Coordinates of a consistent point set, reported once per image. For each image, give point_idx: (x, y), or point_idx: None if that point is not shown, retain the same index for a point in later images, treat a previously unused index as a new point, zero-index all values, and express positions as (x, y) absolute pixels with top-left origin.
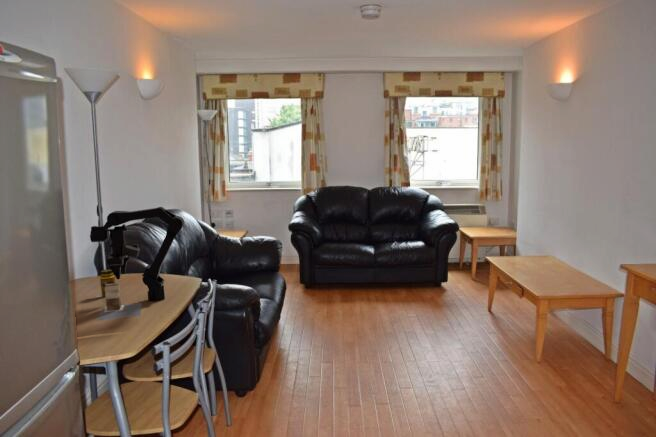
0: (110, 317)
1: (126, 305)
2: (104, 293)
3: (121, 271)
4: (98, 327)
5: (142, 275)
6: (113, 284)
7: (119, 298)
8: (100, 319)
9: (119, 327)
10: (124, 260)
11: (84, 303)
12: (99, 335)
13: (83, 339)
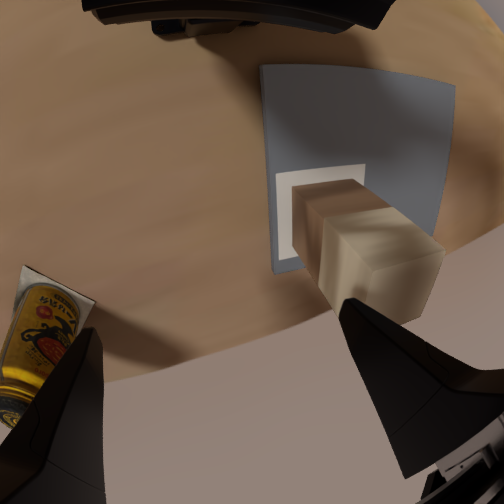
0: (429, 197)
1: (290, 157)
2: (76, 333)
3: (102, 376)
4: (462, 214)
5: (373, 20)
6: (392, 295)
7: (359, 205)
8: (429, 227)
9: (487, 153)
10: (56, 497)
11: (160, 358)
12: (499, 196)
13: (496, 225)
